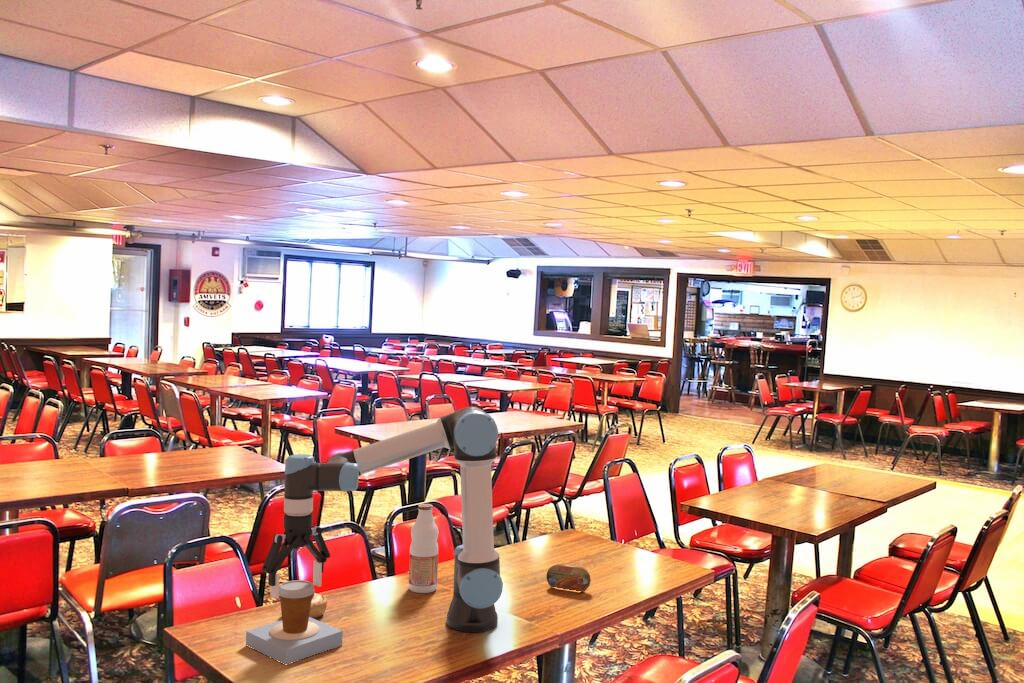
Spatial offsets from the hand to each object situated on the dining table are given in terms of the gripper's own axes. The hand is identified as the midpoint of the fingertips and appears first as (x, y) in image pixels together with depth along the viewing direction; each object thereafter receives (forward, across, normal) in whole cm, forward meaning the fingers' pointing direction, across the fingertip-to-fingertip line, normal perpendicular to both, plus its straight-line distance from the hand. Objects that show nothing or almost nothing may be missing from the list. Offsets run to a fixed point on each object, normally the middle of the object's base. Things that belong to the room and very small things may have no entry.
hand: (296, 591), depth 216 cm
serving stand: (+15, 0, 0) cm, 15 cm away
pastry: (+15, -16, -17) cm, 28 cm away
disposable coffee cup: (+10, 0, 0) cm, 10 cm away
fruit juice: (+15, -57, -9) cm, 60 cm away
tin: (+16, -91, +26) cm, 96 cm away
